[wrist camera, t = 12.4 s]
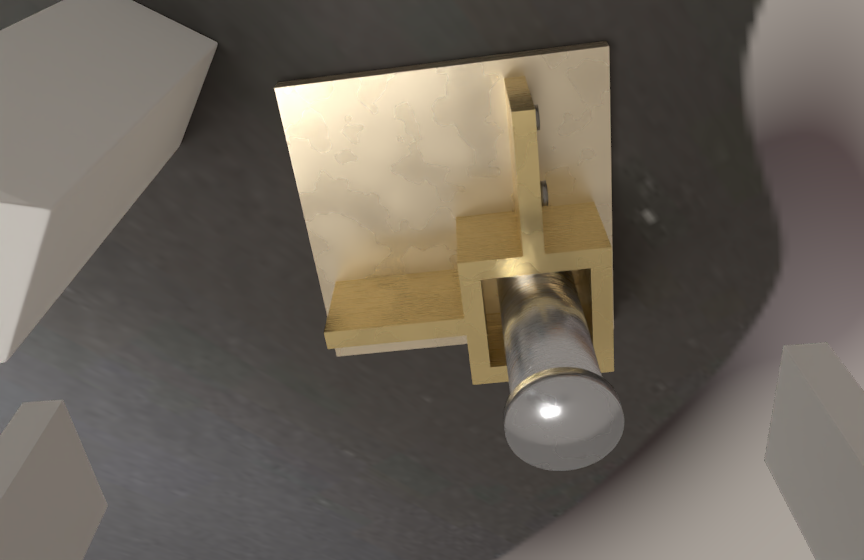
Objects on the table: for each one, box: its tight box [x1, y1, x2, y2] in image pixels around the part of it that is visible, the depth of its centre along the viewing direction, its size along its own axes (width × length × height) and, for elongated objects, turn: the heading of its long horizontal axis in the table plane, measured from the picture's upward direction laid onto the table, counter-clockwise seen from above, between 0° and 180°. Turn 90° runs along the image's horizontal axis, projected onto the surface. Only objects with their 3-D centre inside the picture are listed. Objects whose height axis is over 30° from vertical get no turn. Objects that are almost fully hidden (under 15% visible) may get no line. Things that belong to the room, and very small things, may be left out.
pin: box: [496, 270, 624, 471], centre depth 37 cm, size 5×5×13 cm
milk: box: [0, 0, 218, 363], centre depth 29 cm, size 6×6×22 cm
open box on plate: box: [274, 41, 614, 385], centre depth 40 cm, size 16×16×6 cm
